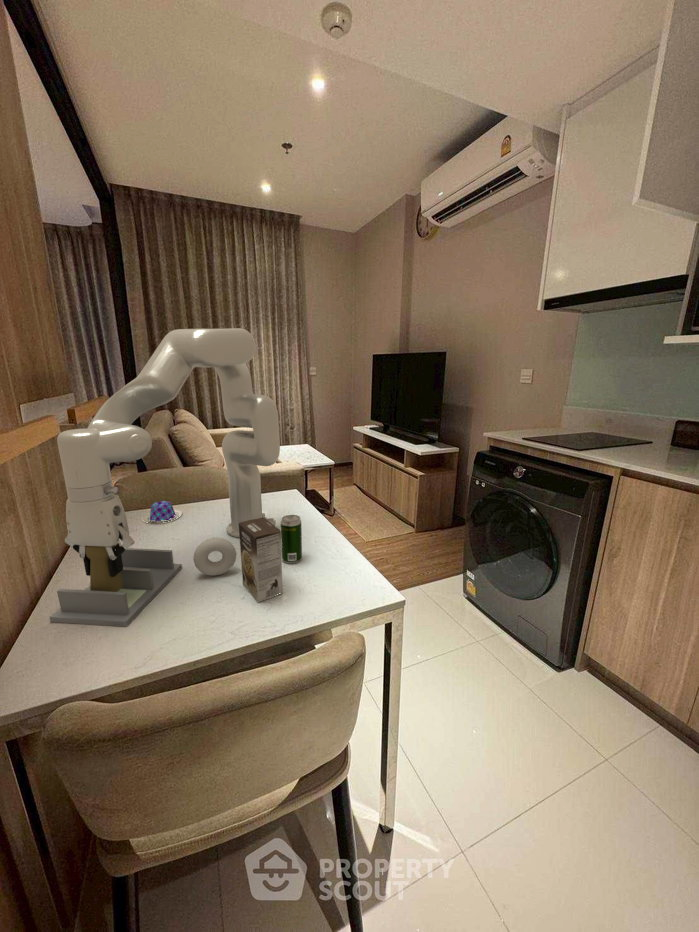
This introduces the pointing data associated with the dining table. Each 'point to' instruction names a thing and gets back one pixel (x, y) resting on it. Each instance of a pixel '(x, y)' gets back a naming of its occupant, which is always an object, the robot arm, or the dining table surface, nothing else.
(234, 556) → the donut
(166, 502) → the purple patterned dome
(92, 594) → the rack
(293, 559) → the beer can
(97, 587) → the brown gourd-shaped form
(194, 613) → the dining table surface
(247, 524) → the coffee box
